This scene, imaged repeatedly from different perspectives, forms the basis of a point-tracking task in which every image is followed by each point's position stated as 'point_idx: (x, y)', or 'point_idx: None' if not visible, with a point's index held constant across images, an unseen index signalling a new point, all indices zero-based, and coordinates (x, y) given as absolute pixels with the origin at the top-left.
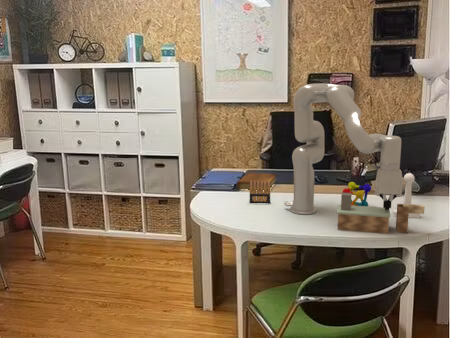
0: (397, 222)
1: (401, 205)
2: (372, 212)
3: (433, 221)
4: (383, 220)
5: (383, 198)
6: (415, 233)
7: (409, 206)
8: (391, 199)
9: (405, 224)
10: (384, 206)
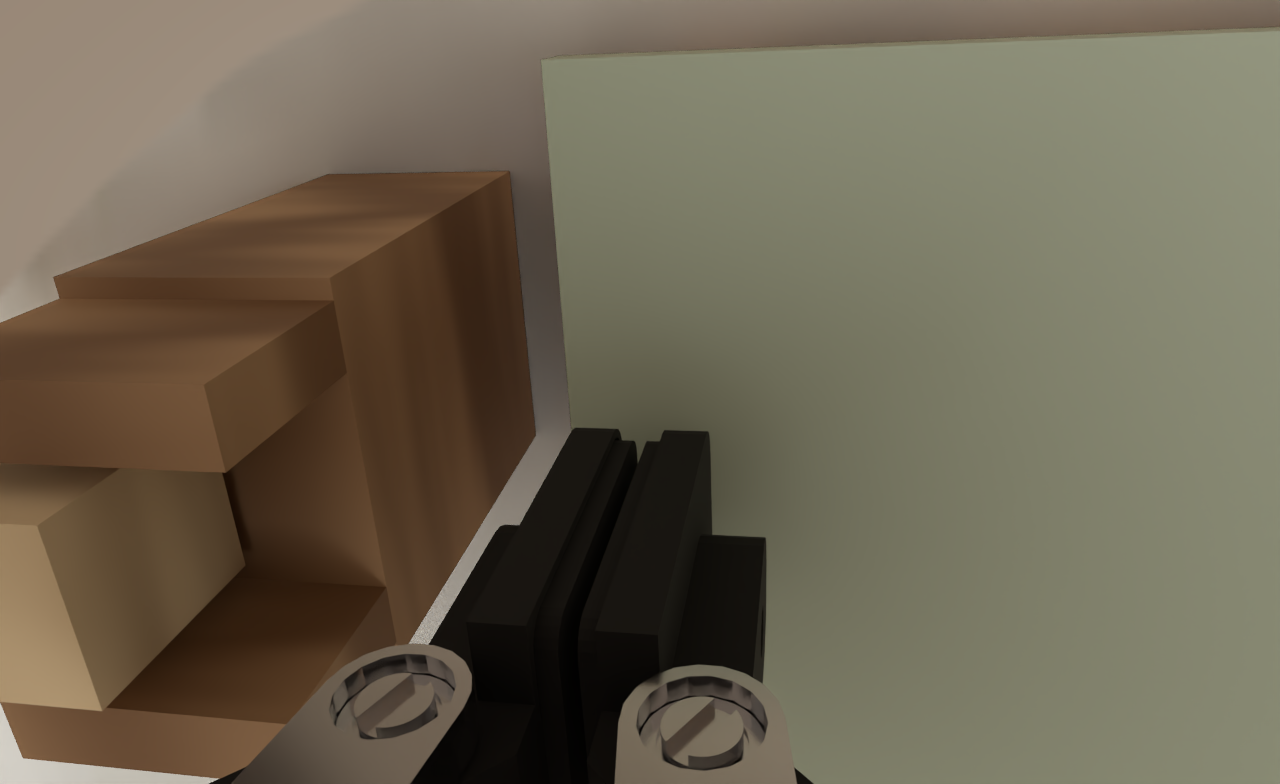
0: (430, 217)
1: (188, 691)
2: (1166, 292)
3: (70, 776)
4: None
5: (774, 774)
6: (200, 207)
7: None
8: (358, 729)
9: (276, 213)
10: (726, 549)
